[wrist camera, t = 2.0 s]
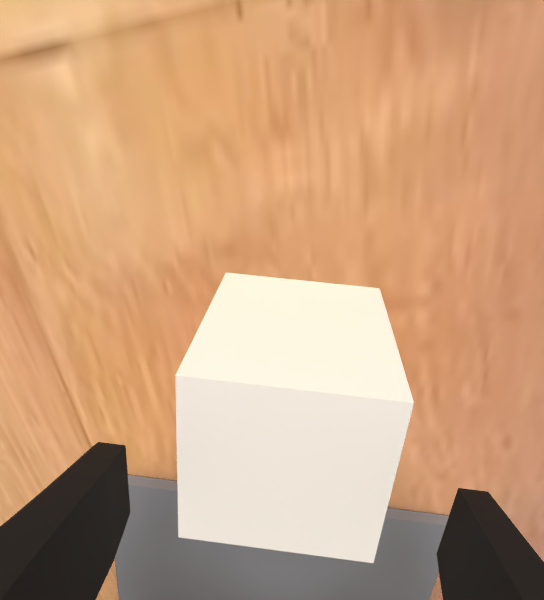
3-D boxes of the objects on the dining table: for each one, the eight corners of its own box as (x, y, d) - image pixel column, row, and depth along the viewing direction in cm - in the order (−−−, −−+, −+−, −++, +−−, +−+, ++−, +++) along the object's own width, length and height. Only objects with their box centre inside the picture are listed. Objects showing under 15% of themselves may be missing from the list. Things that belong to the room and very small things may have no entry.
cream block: (222, 396, 17) (178, 537, 12) (226, 272, 15) (175, 375, 10) (355, 411, 17) (373, 563, 12) (379, 287, 15) (414, 402, 10)
